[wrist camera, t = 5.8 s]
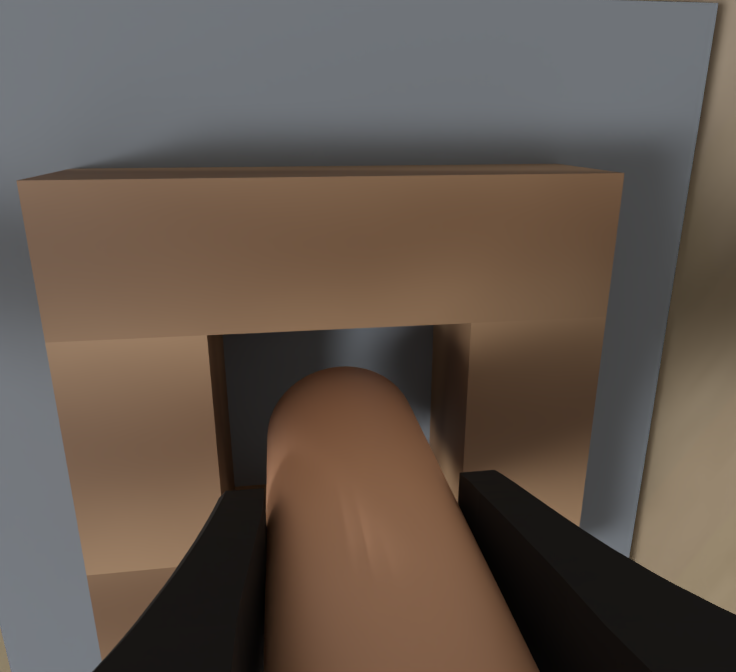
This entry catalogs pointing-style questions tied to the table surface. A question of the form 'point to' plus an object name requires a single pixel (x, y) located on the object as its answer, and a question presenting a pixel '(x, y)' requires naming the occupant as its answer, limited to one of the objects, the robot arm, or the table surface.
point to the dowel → (372, 542)
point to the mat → (332, 148)
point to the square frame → (307, 326)
